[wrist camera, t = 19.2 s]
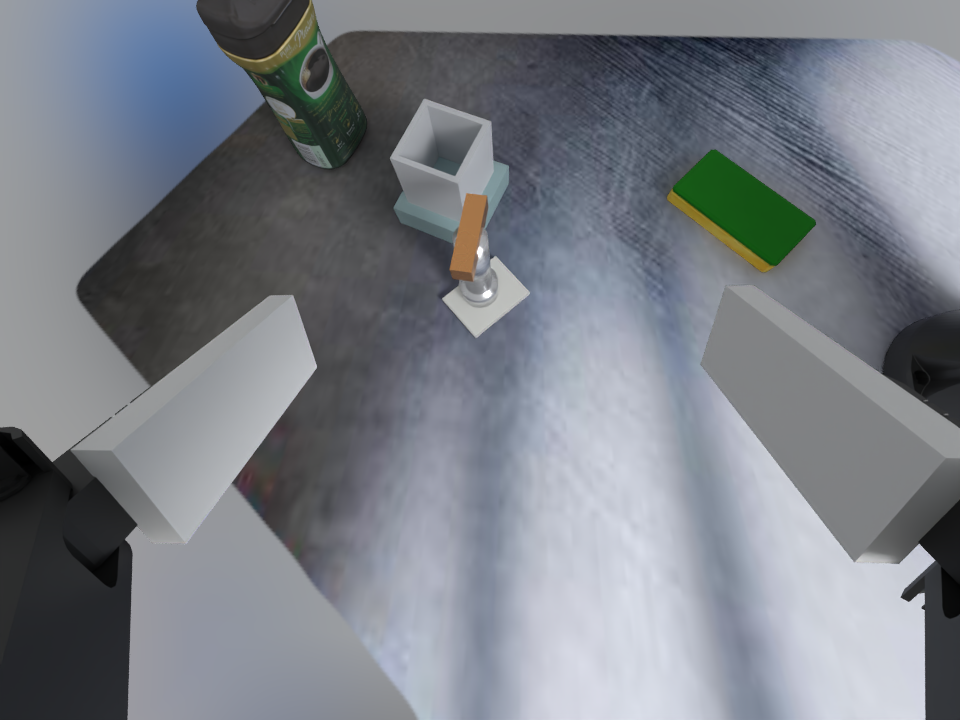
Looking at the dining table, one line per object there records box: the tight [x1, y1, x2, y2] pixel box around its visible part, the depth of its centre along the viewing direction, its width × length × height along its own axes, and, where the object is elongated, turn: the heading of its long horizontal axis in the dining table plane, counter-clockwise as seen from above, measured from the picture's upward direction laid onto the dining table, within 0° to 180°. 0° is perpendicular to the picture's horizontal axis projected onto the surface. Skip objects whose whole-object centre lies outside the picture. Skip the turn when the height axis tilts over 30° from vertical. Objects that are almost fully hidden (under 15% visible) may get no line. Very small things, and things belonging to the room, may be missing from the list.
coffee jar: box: [196, 0, 367, 169], centre depth 41 cm, size 10×8×19 cm
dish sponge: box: [667, 150, 816, 272], centre depth 43 cm, size 7×14×2 cm, turn 44°
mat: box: [442, 256, 530, 338], centre depth 44 cm, size 8×6×1 cm
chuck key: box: [450, 193, 499, 308], centre depth 37 cm, size 7×4×12 cm, turn 169°
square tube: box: [390, 99, 509, 243], centre depth 42 cm, size 10×10×10 cm
